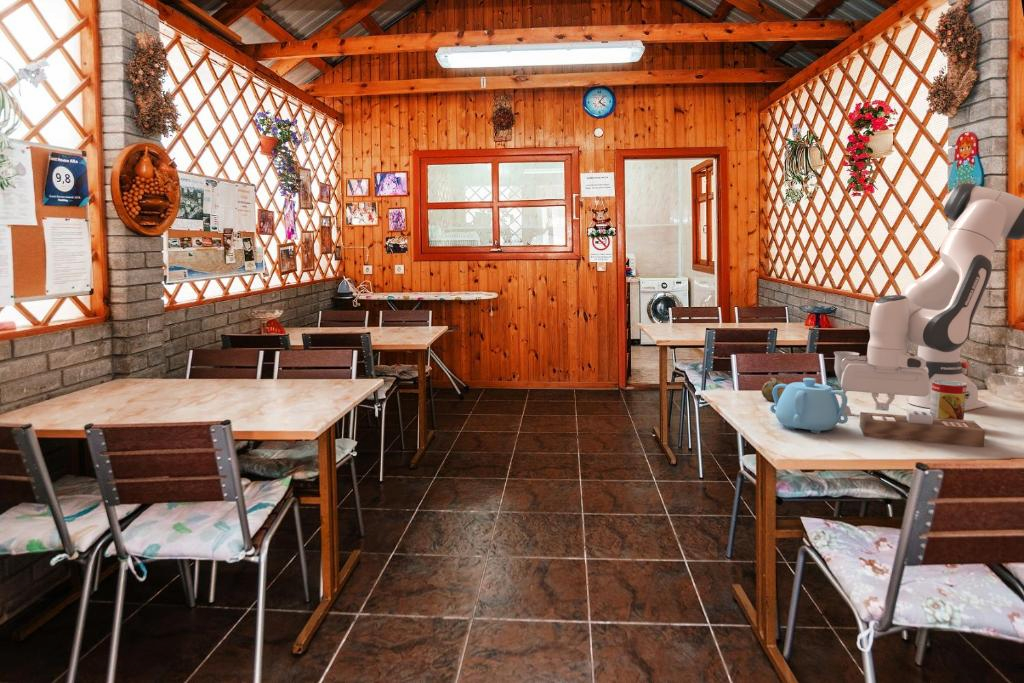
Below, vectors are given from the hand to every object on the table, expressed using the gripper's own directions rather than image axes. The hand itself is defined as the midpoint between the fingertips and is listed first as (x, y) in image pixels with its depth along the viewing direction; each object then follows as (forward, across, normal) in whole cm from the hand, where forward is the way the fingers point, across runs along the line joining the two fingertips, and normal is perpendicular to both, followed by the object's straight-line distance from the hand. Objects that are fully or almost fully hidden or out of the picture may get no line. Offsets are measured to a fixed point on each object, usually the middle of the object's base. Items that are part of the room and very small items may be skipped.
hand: (881, 409), depth 175 cm
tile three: (+5, +17, 0) cm, 17 cm away
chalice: (+6, -8, +20) cm, 22 cm away
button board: (+6, +9, 0) cm, 10 cm away
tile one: (+5, +1, -1) cm, 5 cm away
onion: (+7, -27, +31) cm, 42 cm away
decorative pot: (+6, -18, -2) cm, 19 cm away
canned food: (+6, +18, +15) cm, 24 cm away
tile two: (+3, +9, 0) cm, 9 cm away
